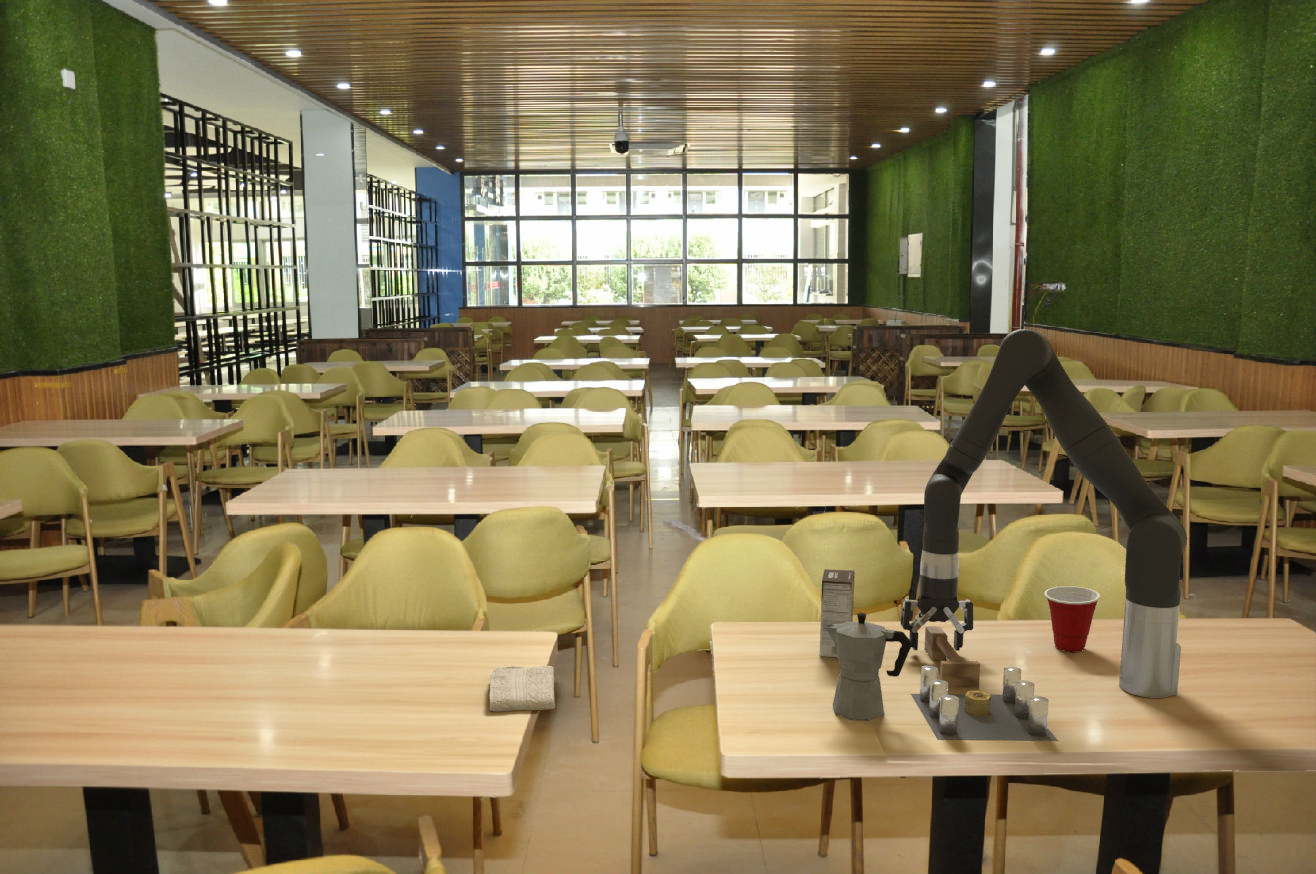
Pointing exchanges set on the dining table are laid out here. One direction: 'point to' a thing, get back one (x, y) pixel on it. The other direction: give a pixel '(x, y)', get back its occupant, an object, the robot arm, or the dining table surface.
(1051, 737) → the spacer mat
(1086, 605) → the plastic cup
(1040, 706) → the steel spacers
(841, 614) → the coffee box
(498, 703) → the washcloth
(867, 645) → the coffeepot
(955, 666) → the wooden mallet
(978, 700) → the brass nut
